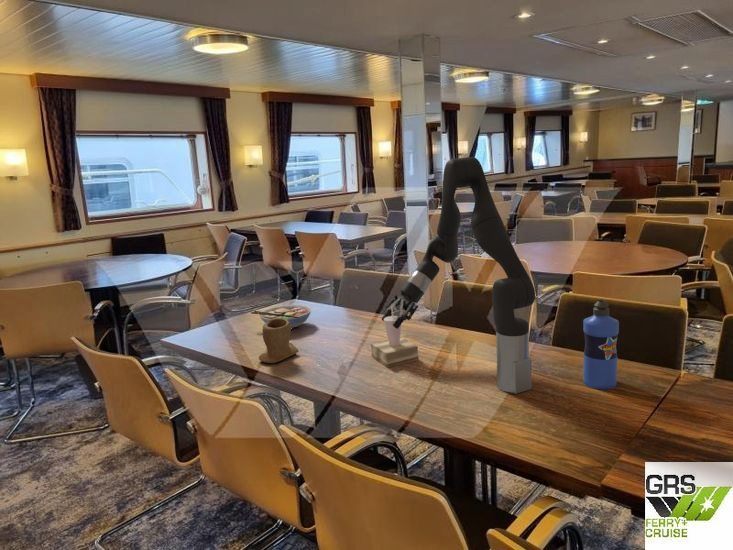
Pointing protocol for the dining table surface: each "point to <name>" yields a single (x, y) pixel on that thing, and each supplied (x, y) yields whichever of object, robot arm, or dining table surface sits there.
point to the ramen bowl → (286, 313)
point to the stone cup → (277, 341)
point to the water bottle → (600, 348)
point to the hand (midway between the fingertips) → (389, 324)
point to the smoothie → (392, 330)
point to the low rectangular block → (394, 352)
